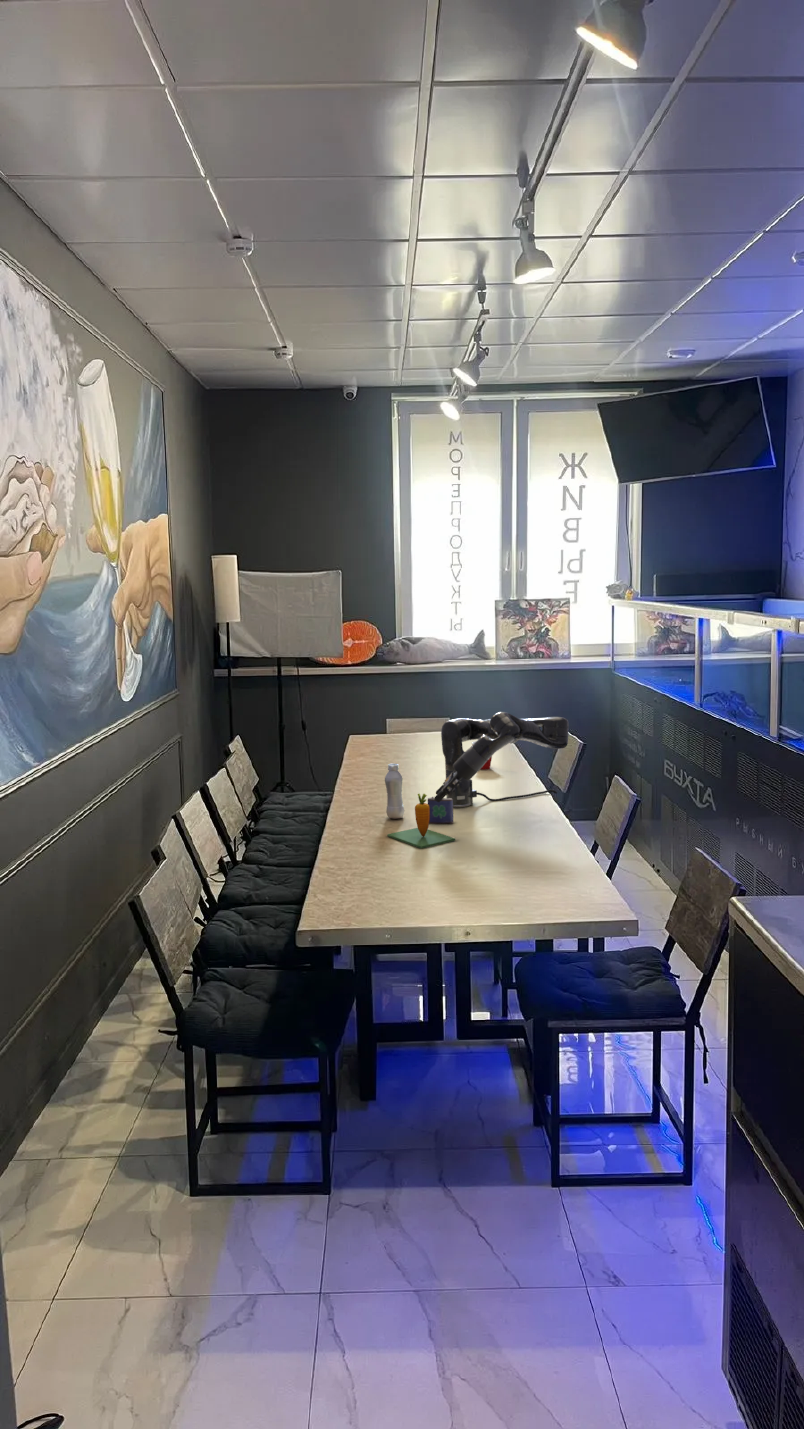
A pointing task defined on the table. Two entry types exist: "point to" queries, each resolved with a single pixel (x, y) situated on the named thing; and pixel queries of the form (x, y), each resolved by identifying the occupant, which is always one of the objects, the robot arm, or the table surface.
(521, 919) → the table surface
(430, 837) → the green mat
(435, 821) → the flask
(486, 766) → the plastic cup
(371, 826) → the table surface
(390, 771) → the plastic bottle
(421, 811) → the carrot
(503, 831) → the table surface
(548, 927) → the table surface
